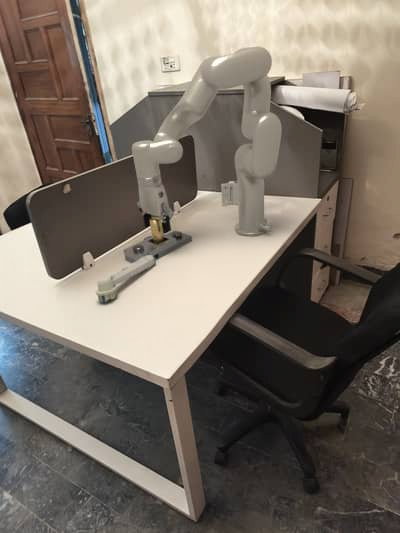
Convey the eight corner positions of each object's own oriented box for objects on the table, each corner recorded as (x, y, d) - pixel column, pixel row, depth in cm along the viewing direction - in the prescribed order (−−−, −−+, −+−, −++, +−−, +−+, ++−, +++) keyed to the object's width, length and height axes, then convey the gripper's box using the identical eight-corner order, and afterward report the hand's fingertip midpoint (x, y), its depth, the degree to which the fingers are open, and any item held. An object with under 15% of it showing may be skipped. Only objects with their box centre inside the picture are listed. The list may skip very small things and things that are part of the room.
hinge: (221, 206, 165) (220, 184, 160) (224, 202, 169) (222, 180, 164) (252, 206, 161) (252, 184, 156) (254, 202, 166) (253, 180, 161)
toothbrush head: (156, 254, 120) (102, 280, 100) (159, 273, 122) (106, 303, 102) (144, 253, 123) (88, 278, 103) (146, 271, 125) (93, 300, 105)
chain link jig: (175, 235, 142) (173, 223, 139) (192, 240, 136) (190, 228, 134) (125, 260, 127) (122, 247, 125) (141, 267, 121) (139, 254, 119)
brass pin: (167, 249, 132) (163, 218, 126) (159, 253, 129) (154, 222, 123) (160, 246, 134) (155, 216, 128) (152, 250, 132) (147, 219, 126)
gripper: (176, 181, 116) (182, 230, 124) (141, 174, 127) (150, 220, 135) (158, 188, 111) (166, 238, 120) (124, 180, 122) (134, 227, 131)
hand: (157, 228), depth 128 cm, fingers open, 9 cm apart
